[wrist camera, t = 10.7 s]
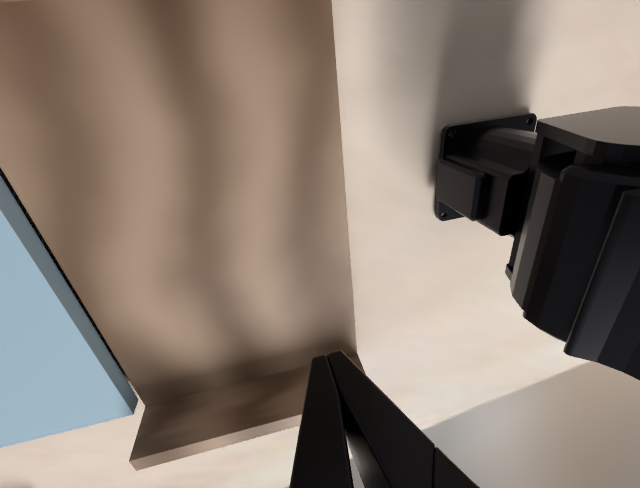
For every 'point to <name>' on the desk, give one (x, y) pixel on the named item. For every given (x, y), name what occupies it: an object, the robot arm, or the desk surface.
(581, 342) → the robot arm
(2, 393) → the panel
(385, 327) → the desk surface
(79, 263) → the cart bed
